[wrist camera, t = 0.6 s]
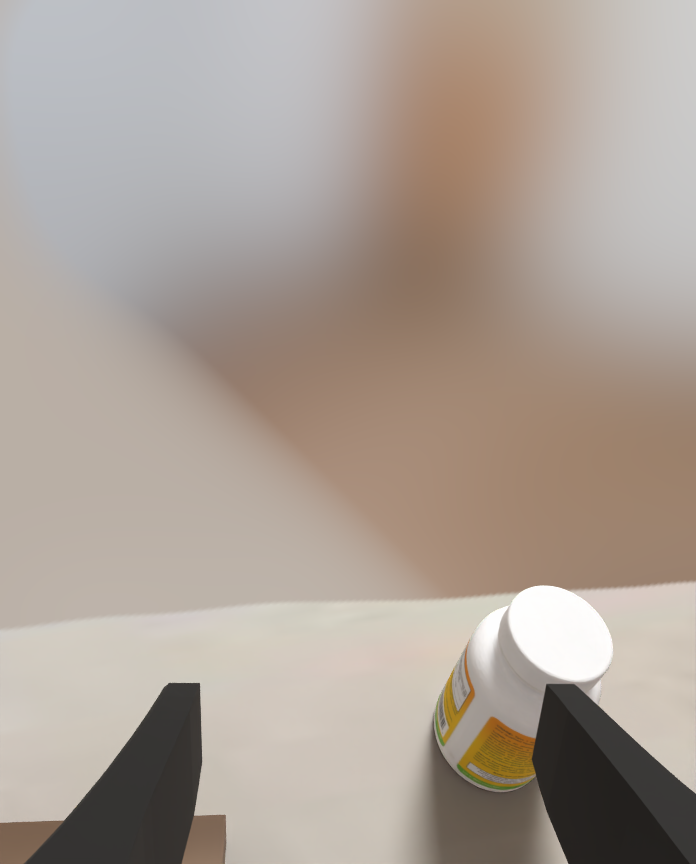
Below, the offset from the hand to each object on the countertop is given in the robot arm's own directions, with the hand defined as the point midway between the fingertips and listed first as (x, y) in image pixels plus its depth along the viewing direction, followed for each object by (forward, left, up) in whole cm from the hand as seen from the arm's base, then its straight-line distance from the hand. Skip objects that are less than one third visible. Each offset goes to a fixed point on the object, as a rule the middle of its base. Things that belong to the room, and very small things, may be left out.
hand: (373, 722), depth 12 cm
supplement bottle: (+6, -9, -17) cm, 20 cm away
